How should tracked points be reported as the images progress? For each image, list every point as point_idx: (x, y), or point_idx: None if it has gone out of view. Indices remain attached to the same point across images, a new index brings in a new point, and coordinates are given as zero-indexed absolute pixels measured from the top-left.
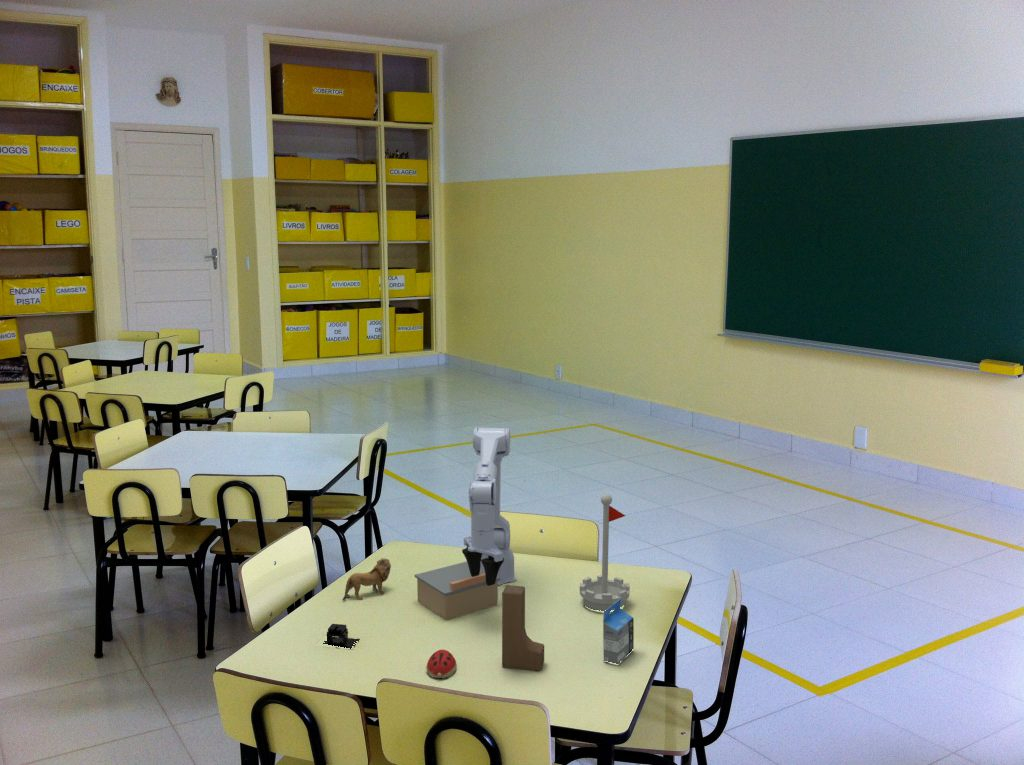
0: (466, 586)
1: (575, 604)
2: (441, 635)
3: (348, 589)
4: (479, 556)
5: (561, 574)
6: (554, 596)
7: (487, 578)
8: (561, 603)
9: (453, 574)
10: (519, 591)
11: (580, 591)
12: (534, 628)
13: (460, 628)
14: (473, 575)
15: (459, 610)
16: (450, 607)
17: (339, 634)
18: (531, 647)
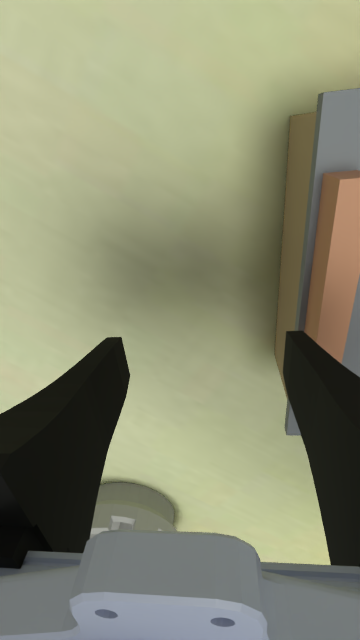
0: (311, 278)
1: (157, 478)
2: (157, 3)
3: None
4: (323, 492)
5: (316, 532)
6: (222, 472)
7: (78, 362)
8: (178, 464)
9: None
10: None
11: (136, 518)
12: (71, 353)
13: (180, 139)
14: (286, 342)
15: (290, 201)
16: (301, 149)
17: None
18: None
